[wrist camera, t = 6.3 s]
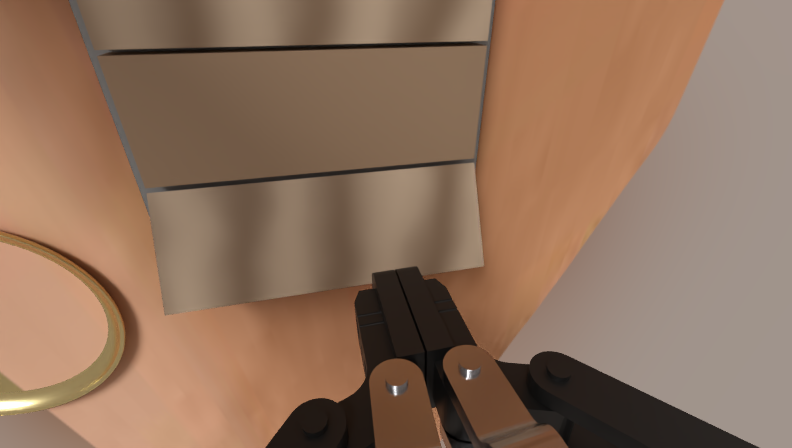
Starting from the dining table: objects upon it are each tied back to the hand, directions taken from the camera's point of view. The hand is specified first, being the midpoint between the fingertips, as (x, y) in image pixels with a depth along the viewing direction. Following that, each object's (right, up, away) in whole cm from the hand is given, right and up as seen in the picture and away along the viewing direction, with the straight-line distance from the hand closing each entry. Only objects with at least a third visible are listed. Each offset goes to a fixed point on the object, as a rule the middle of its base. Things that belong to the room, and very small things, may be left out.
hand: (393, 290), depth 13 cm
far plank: (-5, +2, +15) cm, 16 cm away
